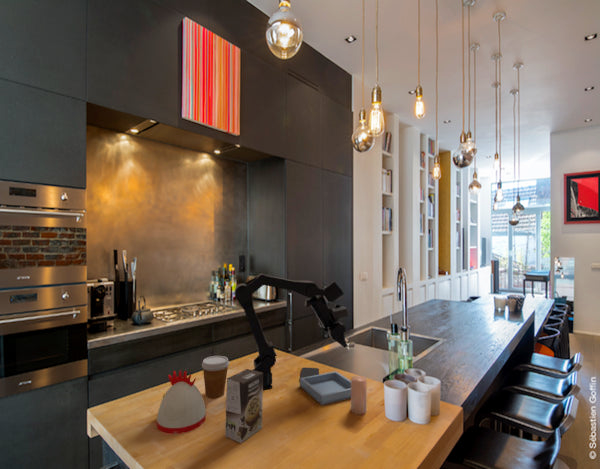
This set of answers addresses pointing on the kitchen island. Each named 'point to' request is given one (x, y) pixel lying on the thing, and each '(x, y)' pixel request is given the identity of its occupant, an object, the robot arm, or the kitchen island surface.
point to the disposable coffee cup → (215, 375)
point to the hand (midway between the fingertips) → (342, 343)
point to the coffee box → (244, 405)
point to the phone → (309, 372)
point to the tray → (327, 387)
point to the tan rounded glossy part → (358, 395)
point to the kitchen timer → (181, 406)
